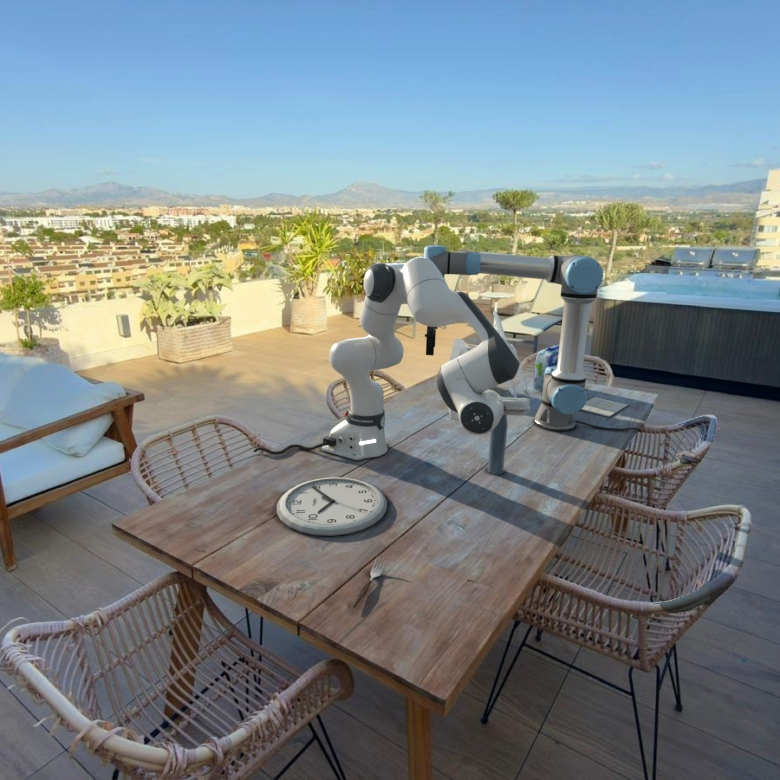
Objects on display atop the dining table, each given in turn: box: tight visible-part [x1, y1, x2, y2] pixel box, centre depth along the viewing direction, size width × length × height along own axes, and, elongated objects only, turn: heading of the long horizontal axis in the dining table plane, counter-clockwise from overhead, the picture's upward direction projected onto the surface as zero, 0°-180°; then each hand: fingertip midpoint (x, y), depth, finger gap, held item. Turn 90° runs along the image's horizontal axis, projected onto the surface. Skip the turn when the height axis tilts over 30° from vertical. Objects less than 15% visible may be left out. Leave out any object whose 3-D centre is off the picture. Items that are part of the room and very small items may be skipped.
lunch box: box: [533, 344, 560, 392], centre depth 247 cm, size 26×11×21 cm, turn 134°
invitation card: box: [580, 396, 629, 418], centre depth 226 cm, size 21×1×15 cm
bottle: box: [487, 415, 508, 476], centre depth 161 cm, size 5×5×22 cm
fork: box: [352, 555, 387, 609], centre depth 110 cm, size 3×16×2 cm, turn 160°
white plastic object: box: [449, 310, 531, 398], centre depth 245 cm, size 37×45×31 cm
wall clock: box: [276, 476, 388, 537], centre depth 142 cm, size 30×2×30 cm
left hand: (491, 401), depth 138 cm, fingers open, 8 cm apart
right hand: (430, 350), depth 189 cm, fingers open, 13 cm apart
